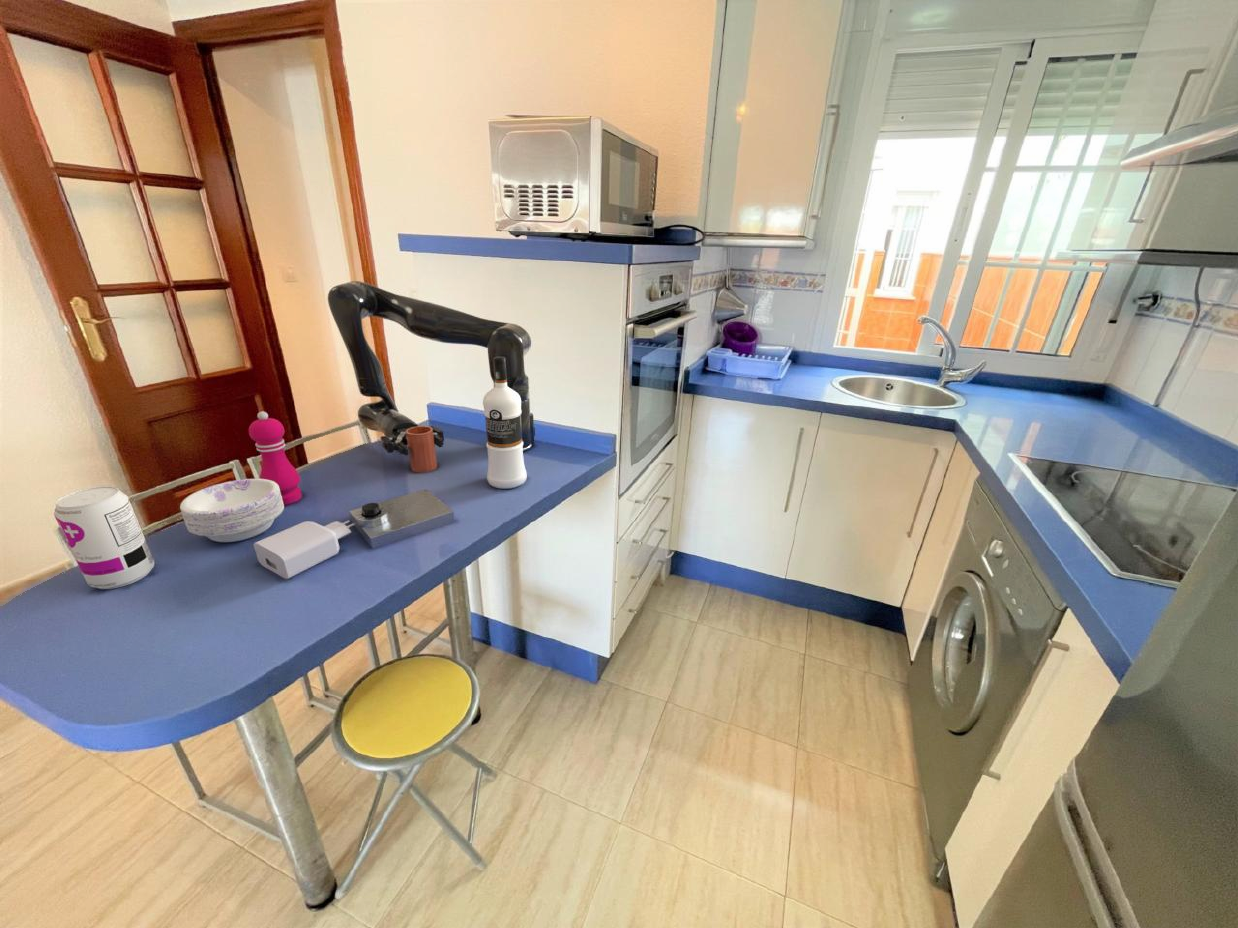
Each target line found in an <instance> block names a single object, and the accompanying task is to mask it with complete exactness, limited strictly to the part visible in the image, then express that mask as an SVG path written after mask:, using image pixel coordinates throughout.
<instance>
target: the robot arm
mask: <svg viewBox="0 0 1238 928" xmlns="http://www.w3.org/2000/svg"><path fill="white" fill-rule="evenodd" d="M327 304H328V307H329V310H330V313H331V316H332V319H333V320H334V322H335V325H336V327H337V329H338V331H339V334H340V336H341V338H342V342H343V344H344V345H345V348H346V350H347V353H348V355H349V358H350V361H351V364H352V368H353V371H354V372H353V373H354V375H355V376H354V377H355V380H356V383H357V387H358V391H359V393H360V395H361V396H363V397H365V398H367V397H368V398H380V400H377V401H373V402H372V401H371V402H369V403H364V404H362V405H360V406H359V408H358V410H357V418H358V420H359V422H360V423H361V425H362V426H363V427H364V428H366V429H367V430H370V431H374V432H380V433H382V434H383V435H382V436H380V442H381V446H382V448H383V449H384V450H385V451H386V452H387V454H392V453H394V451H395V452H396V453H399V454H400V455H404V456H409V450H408V443H407V436H406V430H407V429H409V428H412V427H416V426H419V425H418V423H416V422H415V421H414V420H412V419H410V418H409V417H408V416H406V415H405V414H403V413H401V412H400V411H399V408H398V407H397V405H396V403H395V402H394V400H393V398H392V396H391V394H390V392H389V390H388V387H387V384H386V379H385V375H384V371H383V370H384V369H383V366H382V363H381V361H380V360H379V357H378V356H377V355H376V353H375V352H374V351H373V349H372V347H371V346H370V344H369V342H368V340H367V339H366V336H365V333H364V328H363V319H365V318H371V317H372V318H378V319H383V320H388V321H391V322H394V323H396V324H398V325H400V326H401V327H403V328H404V330H407V331H408V332H410V333H411V334H413V335H415V336H418V337H420V338H422V339H426V340H431V341H433V342H437V343H442V344H452V345H468V346H469V345H470V346H478V347H482V348H486V349H487V357H488V366H489V375H490V379H491V380H492V383H493V388H494V387H495V374H494V360H493V358H494V357H505V360H506V361H505V363H506V377H507V386H508V387H509V388H511V389H512V390H514V391H515V392H517V393H518V394H519V396H520V398H521V411H522V412H521V428H522V441H523V452H527V451H529V450H530V449H532V448H533V447H535V446H536V445H535V436H536V427H535V424H534V414H533V413H532V412H531V401H530V380H529V376H528V375H527V373H526V370H525V359H524V357H525V356H526V355H527V354H528V353H529V351H530V349H531V347H532V339H531V336H530V334H529V333H528V331H527V330H526V329H525V328H523V326H521V325H518V324H516V323H510V322H504V321H498V320H492V319H486V318H482V317H479V316H476V315H473V314H469V313H466V312H464V311H460V310H458V309H454V308H451V307H447V306H444V305H441V304H437V303H433V302H429V301H425V300H422V299H417V298H413V297H410V296H405V295H401V294H396V293H393V292H390V291H388V290H385V289H382V288H380V287H378V286H375V285H372V284H370V283H367V282H364V281H359V280H352V281H351V280H350V281H348V282H344V283H340V284H337V285H335V286H333V287H332V288H331V289H330V290H329V291H328V294H327ZM429 427H431V428H433V436H434V444H435V446H437V447H438V448H443V447H444V441H445V438H444V437H445V436H444V431H443V430H442V429H441V428H439V427H436V426H434V425H430V426H429Z"/></svg>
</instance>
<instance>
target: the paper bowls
mask: <svg viewBox="0 0 1238 928" xmlns="http://www.w3.org/2000/svg"><path fill="white" fill-rule="evenodd" d="M284 509H285V505H284V504H283V500H282V496H281V492H280V489H279V486H278V484H277V483H275V482H274V481H271V480H266V479H260V478H244V479H243V478H242V479H236V480H229V481H225V482H221V483H217V484H213V485H209V486H207V487H205V488H202V489H199V490H197V491H195V492H193V493H191V494H190V495H188V496H187V497H185V498H184V499H183V500H182V501H181V502H180V505H179V510H180V513H181V515H182V519H183V522H184V524H185V527H186V530H187V531H188V532H189V533H191V534H192V535H196V536H199V537H206V538H207V539H210V540H211V541H213V542H218V543H233V542H240V541H245V540H248V539H251V538H253V537H256V536H258V535H259V536H260V534H263V533H264V532H266V531H268V530H269V528H271V527H272V525H273V523H274V520H275V519H276V518H278V517H279V516H280V515H282V514H283V512H284Z"/></svg>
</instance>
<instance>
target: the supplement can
mask: <svg viewBox="0 0 1238 928" xmlns="http://www.w3.org/2000/svg"><path fill="white" fill-rule="evenodd" d="M53 516H54V518H55V520H56V522H57V524H58V526H59V528H60V530H61V532H62V535H63V537H64V539H65V540H66V542H67V544H68V547H69V549H70V551H71V553H72V555H73V557H74V559H75V561H76V563H77V565H78V568H79V570H80V572H81V573H82V576H83V577H84V579H85V582H86V584H87V585H88V586H89V587H91V588H96V589H100V590H112V589H118V588H122V587H126V586H128V585H131V584H133V583H135V582H138V581H140V580H142V579H143V578H145V577H146V576H148V574H150V572H151V571H152V569H153V568H154V567H155V560H154V557H153V555H152V552H151V550H150V547H149V545H148V543H147V541H146V538H145V536H144V533H143V530H142V528H141V526H140V523H139V521H138V518H137V516H136V513H135V512H134V508H133V506H132V504H131V502H130V499H129V496H128V495H126V494H125V493H124V492H122V491H120V489H119V488H118V487H116V486H110V485H107V486H103V485H101V486H95V487H90V488H85V489H81V490H80V489H79V490H77V491H74V492H70V493H68V494H66V495H64V496H62V497H60V498H59V499H57V500H56V502H55V508H54V511H53Z"/></svg>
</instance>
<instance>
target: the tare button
mask: <svg viewBox="0 0 1238 928" xmlns="http://www.w3.org/2000/svg"><path fill="white" fill-rule="evenodd" d="M377 503H378V502H370V503H369V502H368V503H365V504H364V505H362V506H361V508H362V512H363V516H364V517H366V518H368V517H374V516H377V515H379V514H380V509H379V505H378V504H377Z"/></svg>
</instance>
